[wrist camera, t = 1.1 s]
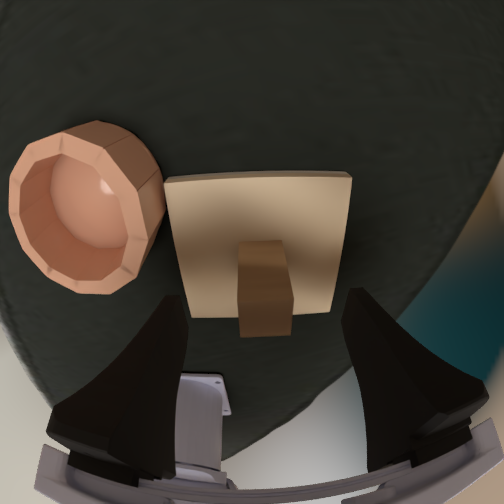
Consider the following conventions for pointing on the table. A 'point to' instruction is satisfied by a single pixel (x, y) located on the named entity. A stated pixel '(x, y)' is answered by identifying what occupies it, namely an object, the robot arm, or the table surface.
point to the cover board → (258, 218)
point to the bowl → (87, 205)
